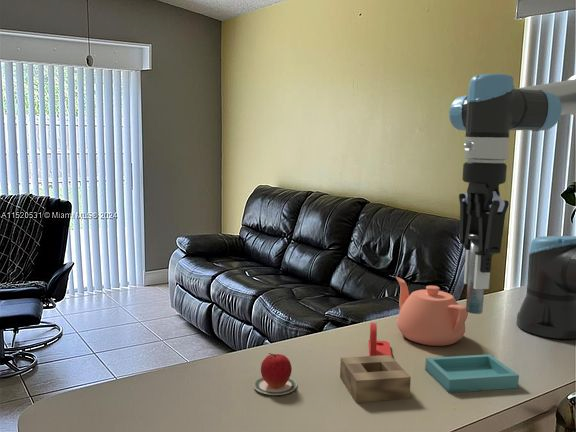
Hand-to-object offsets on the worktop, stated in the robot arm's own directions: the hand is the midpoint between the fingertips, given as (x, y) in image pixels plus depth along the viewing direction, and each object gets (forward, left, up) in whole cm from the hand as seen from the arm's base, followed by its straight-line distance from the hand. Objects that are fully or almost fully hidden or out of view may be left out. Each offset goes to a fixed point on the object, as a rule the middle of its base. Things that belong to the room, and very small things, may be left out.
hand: (476, 285), depth 102 cm
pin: (0, 0, -5) cm, 5 cm away
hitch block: (+20, +1, -19) cm, 27 cm away
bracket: (+13, -14, -19) cm, 27 cm away
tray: (0, 0, -19) cm, 19 cm away
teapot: (-2, -23, -19) cm, 30 cm away
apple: (+38, -2, -19) cm, 42 cm away
